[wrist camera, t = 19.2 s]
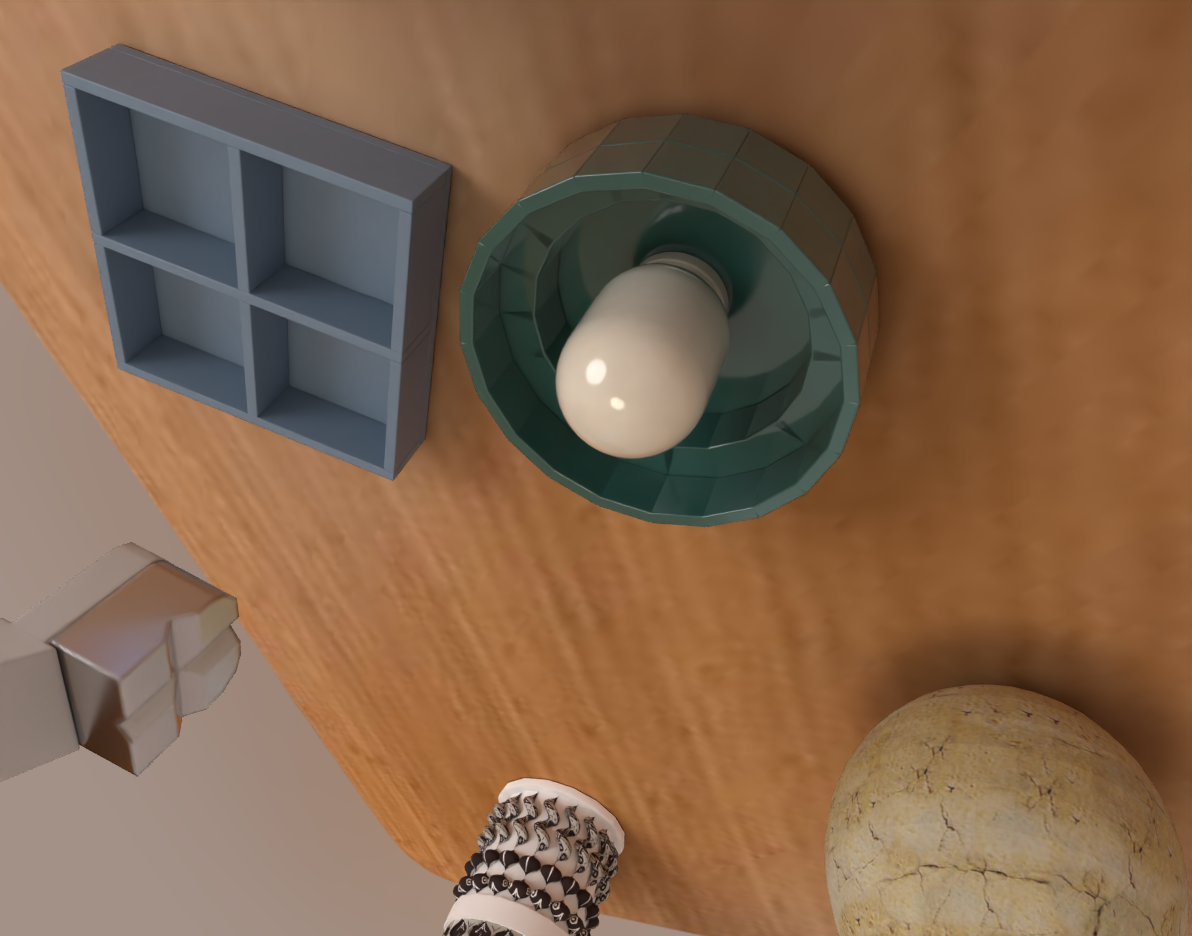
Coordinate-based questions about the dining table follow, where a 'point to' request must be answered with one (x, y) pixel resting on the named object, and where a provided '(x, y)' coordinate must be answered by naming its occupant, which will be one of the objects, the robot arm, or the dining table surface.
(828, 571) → the dining table surface
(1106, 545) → the dining table surface
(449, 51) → the dining table surface
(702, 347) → the cream capsule
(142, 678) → the robot arm
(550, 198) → the bowl
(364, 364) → the divided tray
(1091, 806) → the fossilized egg
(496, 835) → the decorative candle
